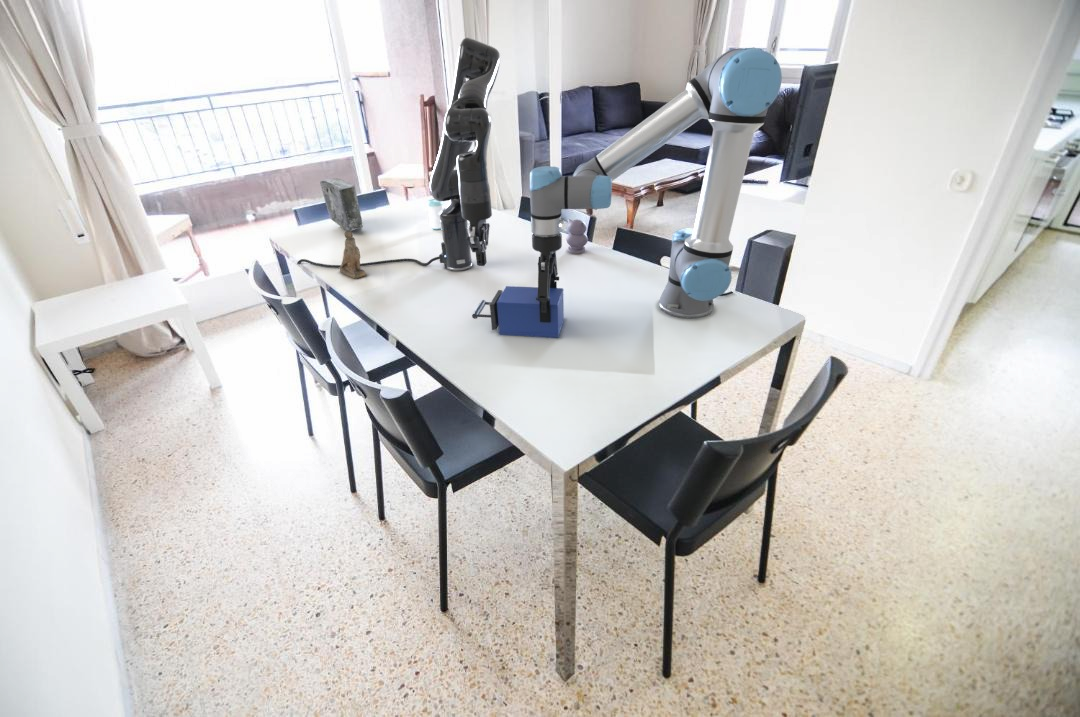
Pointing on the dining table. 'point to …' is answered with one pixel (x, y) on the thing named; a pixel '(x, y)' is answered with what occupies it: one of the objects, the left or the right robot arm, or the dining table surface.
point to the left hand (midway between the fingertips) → (481, 264)
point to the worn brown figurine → (351, 258)
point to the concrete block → (342, 203)
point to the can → (435, 213)
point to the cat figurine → (576, 236)
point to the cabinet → (529, 312)
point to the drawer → (492, 310)
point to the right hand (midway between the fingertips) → (548, 312)
